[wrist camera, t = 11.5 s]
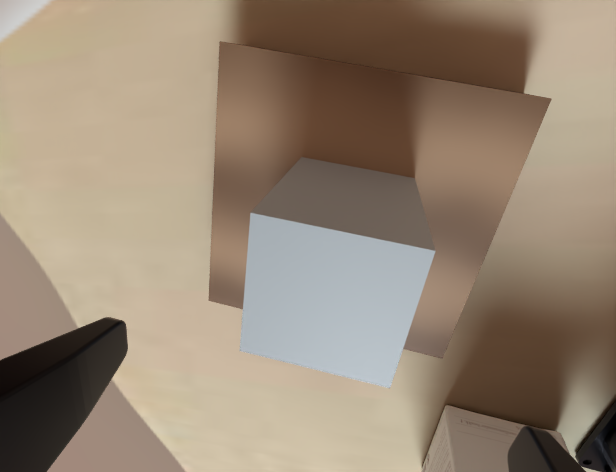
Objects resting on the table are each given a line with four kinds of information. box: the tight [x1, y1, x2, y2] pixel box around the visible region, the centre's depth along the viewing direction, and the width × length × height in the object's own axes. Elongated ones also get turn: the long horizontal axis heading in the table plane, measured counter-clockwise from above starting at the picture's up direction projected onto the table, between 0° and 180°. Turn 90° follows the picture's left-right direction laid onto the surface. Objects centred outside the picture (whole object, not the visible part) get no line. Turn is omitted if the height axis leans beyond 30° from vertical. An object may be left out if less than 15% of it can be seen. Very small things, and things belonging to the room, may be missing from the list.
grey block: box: [240, 157, 435, 388], centre depth 14 cm, size 5×5×7 cm
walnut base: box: [209, 42, 551, 358], centre depth 18 cm, size 13×13×3 cm
